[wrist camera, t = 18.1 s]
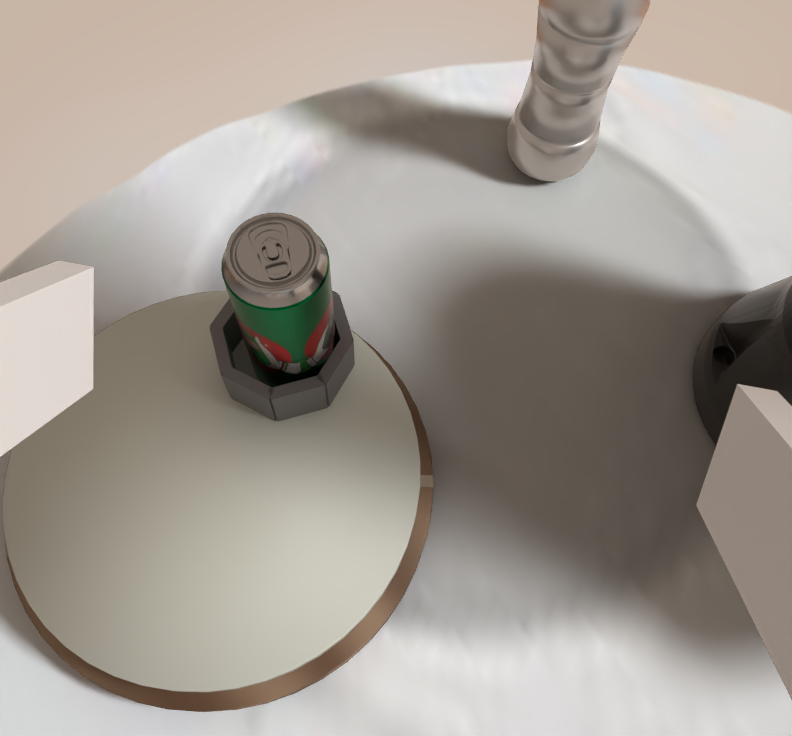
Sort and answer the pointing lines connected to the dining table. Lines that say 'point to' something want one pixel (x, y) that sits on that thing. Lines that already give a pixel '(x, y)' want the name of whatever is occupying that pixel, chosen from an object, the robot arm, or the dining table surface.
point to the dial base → (307, 672)
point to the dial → (212, 503)
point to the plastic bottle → (569, 83)
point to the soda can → (281, 296)
